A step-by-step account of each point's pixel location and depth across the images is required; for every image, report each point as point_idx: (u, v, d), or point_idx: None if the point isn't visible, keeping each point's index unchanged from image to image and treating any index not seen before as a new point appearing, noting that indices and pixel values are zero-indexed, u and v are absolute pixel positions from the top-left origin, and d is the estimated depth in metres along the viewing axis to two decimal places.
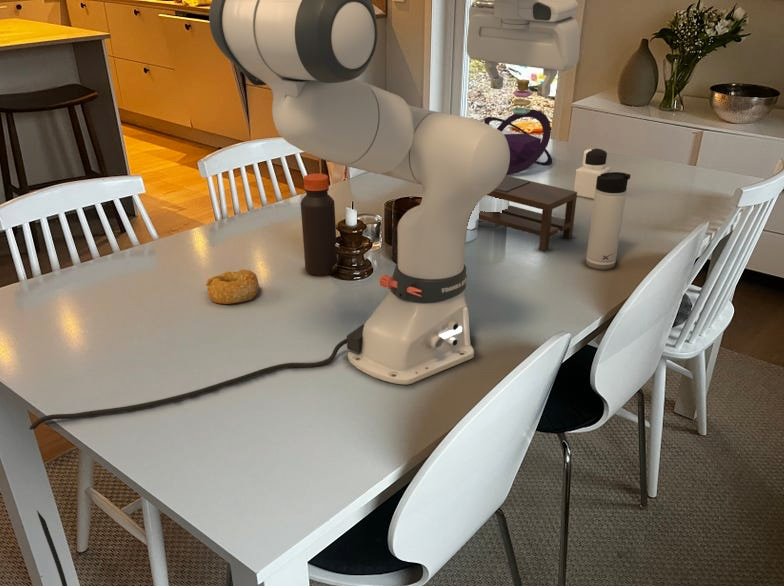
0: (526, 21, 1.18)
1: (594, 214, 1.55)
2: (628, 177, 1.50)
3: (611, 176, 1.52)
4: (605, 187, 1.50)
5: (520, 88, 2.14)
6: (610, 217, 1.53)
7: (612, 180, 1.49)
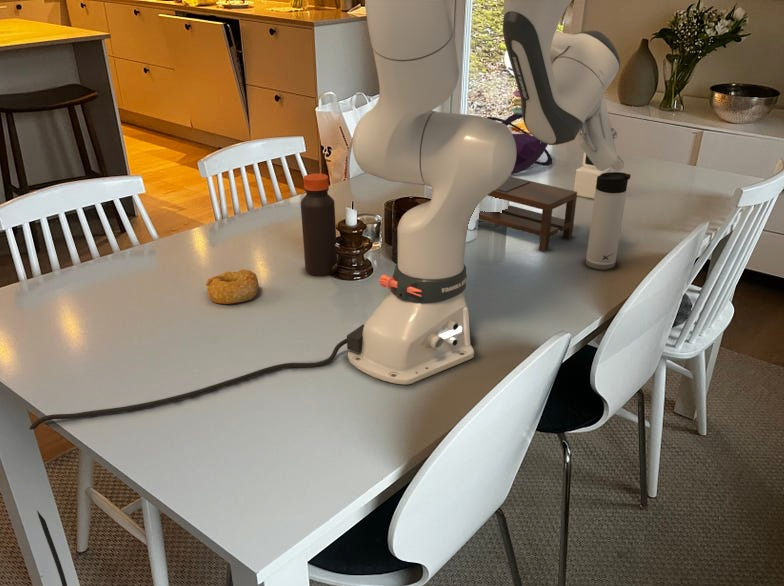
0: None
1: (594, 214, 1.55)
2: (628, 177, 1.50)
3: (611, 176, 1.52)
4: (605, 187, 1.50)
5: None
6: (610, 217, 1.53)
7: (612, 180, 1.49)
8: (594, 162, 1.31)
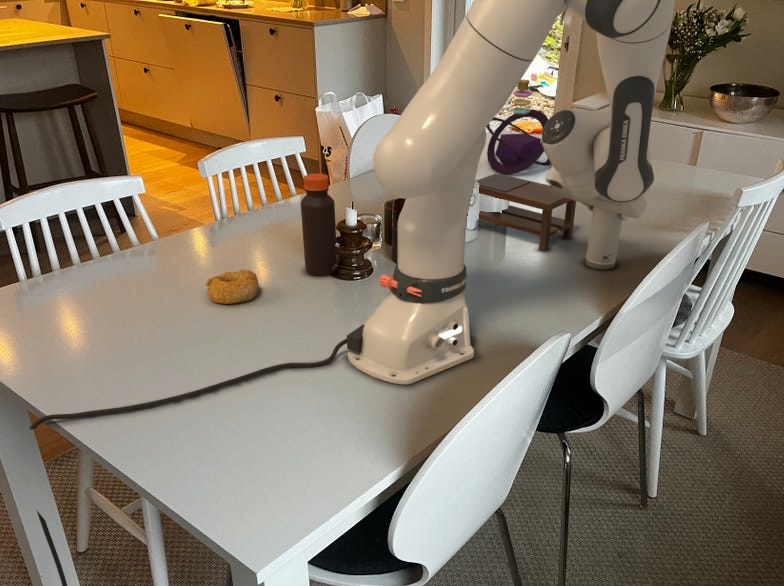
0: None
1: (594, 214, 1.55)
2: None
3: None
4: None
5: (520, 88, 2.14)
6: (611, 217, 1.53)
7: None
8: (636, 210, 1.44)
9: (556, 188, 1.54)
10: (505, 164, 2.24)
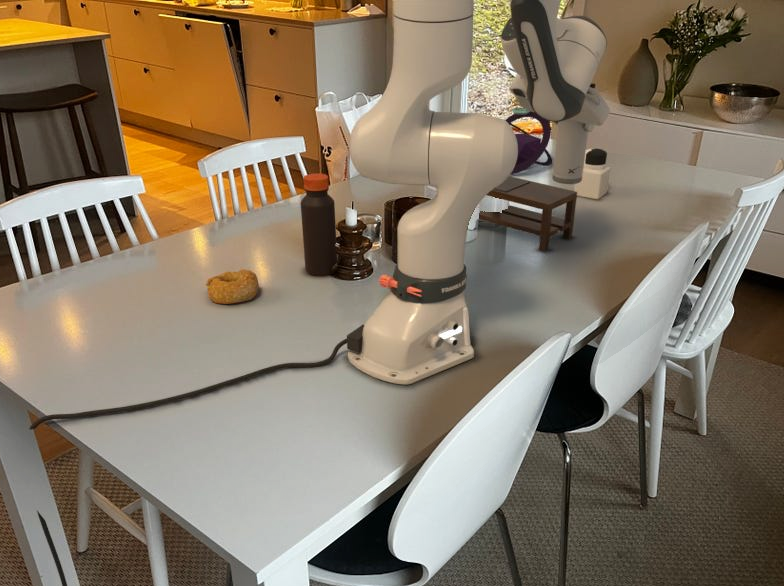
0: None
1: (559, 126, 1.54)
2: (593, 86, 1.49)
3: None
4: None
5: None
6: (576, 128, 1.52)
7: None
8: (598, 116, 1.43)
9: (521, 100, 1.53)
10: None
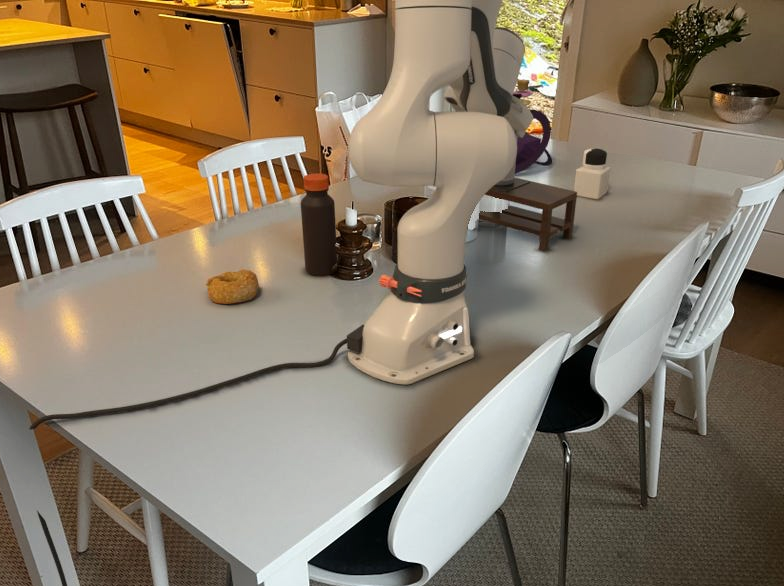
0: None
1: None
2: (519, 96, 1.63)
3: None
4: None
5: (520, 88, 2.14)
6: None
7: None
8: (522, 122, 1.57)
9: (455, 107, 1.68)
10: None
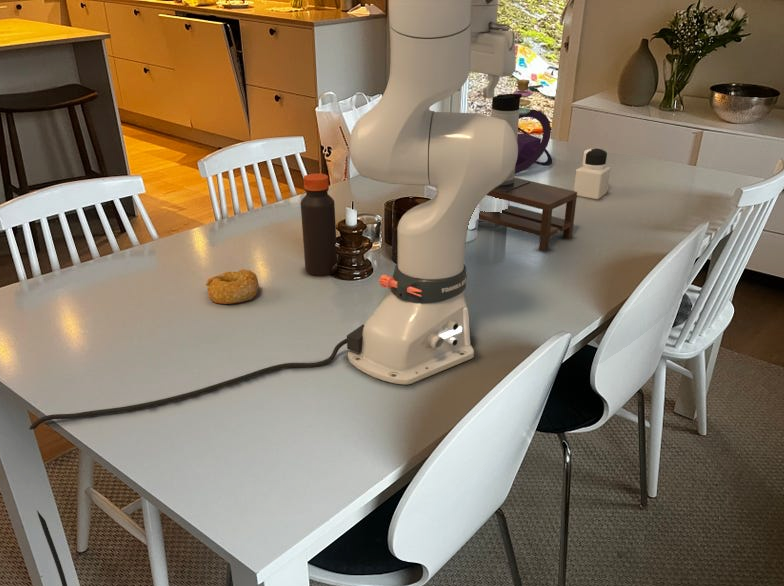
0: None
1: None
2: (519, 96, 1.63)
3: (505, 96, 1.66)
4: (498, 105, 1.64)
5: (520, 88, 2.14)
6: None
7: (504, 98, 1.63)
8: (505, 60, 1.42)
9: None
10: None
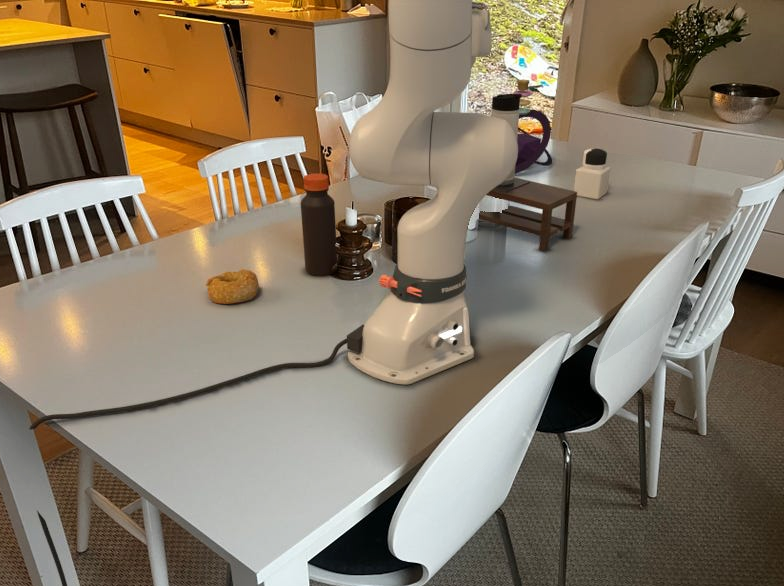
0: None
1: None
2: (519, 96, 1.63)
3: (505, 96, 1.66)
4: (498, 105, 1.64)
5: (520, 88, 2.14)
6: None
7: (504, 98, 1.63)
8: (481, 40, 1.38)
9: None
10: None
